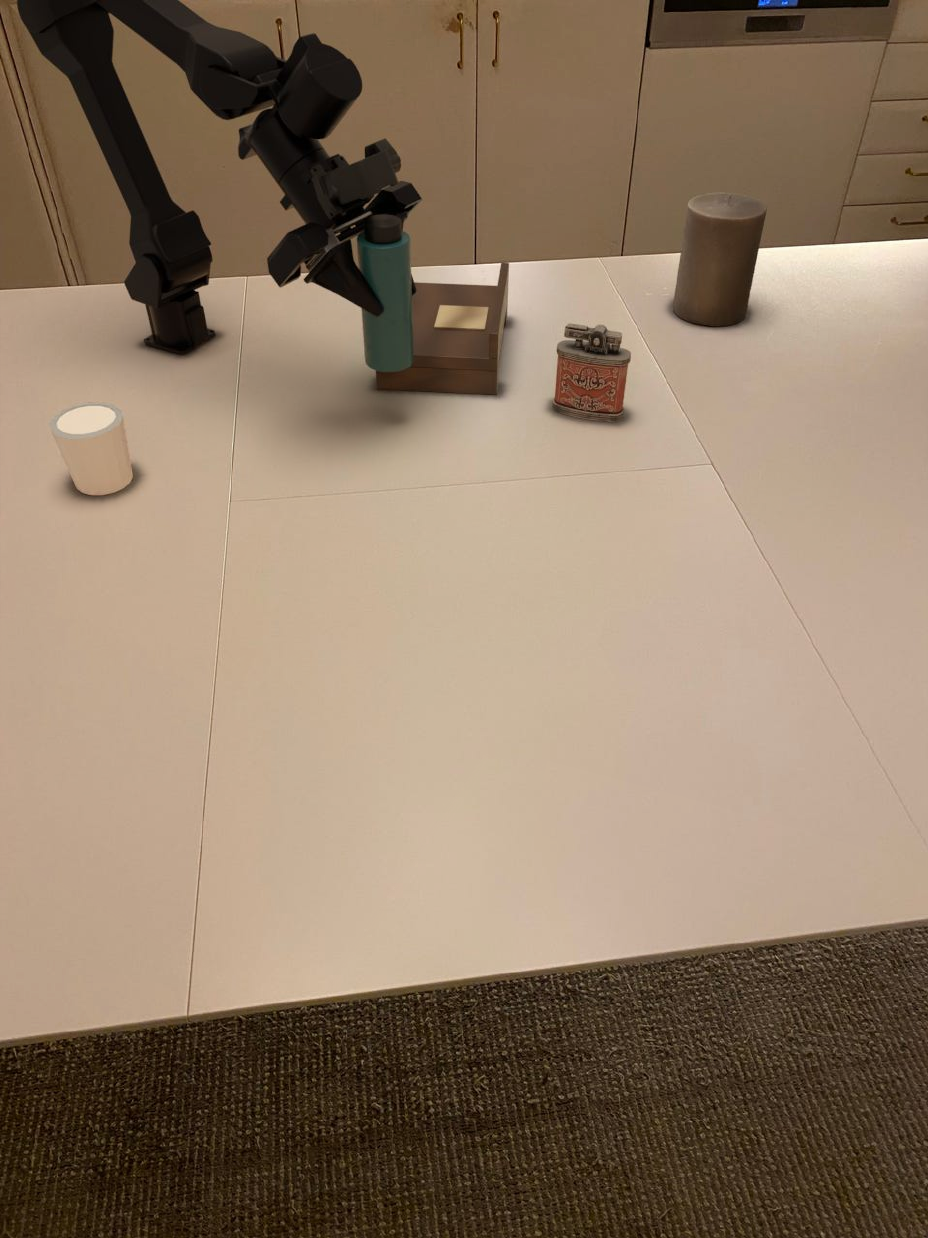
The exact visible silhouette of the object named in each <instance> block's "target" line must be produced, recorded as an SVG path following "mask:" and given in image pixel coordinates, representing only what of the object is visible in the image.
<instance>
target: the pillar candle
mask: <svg viewBox="0 0 928 1238" xmlns="http://www.w3.org/2000/svg"><path fill="white" fill-rule="evenodd" d="M767 209H768V208H767V205H766V203H765V202H763V201H761V200H760V199H758V198H756V197H754V196H751V195H747V194H741V193H735V192H724V191H720V192H709V193H705V194H699V195H696V196H694V197H692V198H691V199H689V201H688V203H687V209H686V210H687V211H686V215H685V222H684V223H685V224H684V228H683V237H682V240H681V241H682V242H681V249H680V256H679V261H678V269H677V275H676V282H675V288H674V296H673V302H672V310H673V313H674V314H675V315H676V316H677V317H679V318H681V319H682V320H684V321H687V322H689V323H692V324H697V325H703V326H709V327H724V326H727V327H728V326H731V325H734V324H737V323H739V322H741V321H743V320H744V319H745V318H746V314H747V310H748V307H749V306H748V305H749V301H750V298H751V297H750V295H751V290H752V286H753V281H754V276H755V275H754V274H755V270H756V265H757V260H758V255H759V250H760V245H761V241H762V235H763V231H764V225H765V221H766V215H767Z"/></svg>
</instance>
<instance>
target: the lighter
mask: <svg viewBox="0 0 928 1238" xmlns="http://www.w3.org/2000/svg"><path fill="white" fill-rule="evenodd" d="M563 334H564V335H563V337H564V338H566V339H568V340H566V339H564V340H561V341H559V342H558V343H557V345H556V354H557V364H556V375H555V376H556V377H555V389H554V397H553V399H552V410H553V411H554V412H556V413H558V414H563V415H566V416H570V417H574V418H579V419H583V420H592V421H597V422H610V423H616V422H619V421H621V420H622V419H623V418H624V411H625V408H624V400H625V392H626V385H627V376H628V368H629V364H630V363H631V359H632V352H631V351H630V350H628V349H627V348H625V347H621V344H622V339H623V333H622V332H621V331H615V330H608V328H607V327H606V326H605V324H597V325H595V327H590V326H589V325H584V324H578V323H572V322H571V323H570V322H569V323H567V324H565V326H564V332H563ZM571 339H572V340H571Z"/></svg>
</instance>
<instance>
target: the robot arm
mask: <svg viewBox="0 0 928 1238" xmlns="http://www.w3.org/2000/svg"><path fill="white" fill-rule="evenodd" d="M16 6H17V13H18V15H19V17H20V20H21V22H22V23H23V25H24V26H25V28H26V30H27V31H28V33H29V35H30V37H31V38H32V40H33V42H34V44H35V45H36V48H38V51H39V52H40V54H41V55H42V56H43V57H44V58H45V59H46V60H47V61H48V62H50V64H52V65H53V66H54V67H55V68H56V69H57V70H59V71H60V72H61V73H62V74H63V75H65V77H66V78H67V79H68V81H69V82H70V84H71V87H72V89H73V91H74V93H75V95H76V97H77V100H78V102H79V104H80V106H81V109H82V111H83V113H84V116H85V118H86V120H87V122H88V124H89V126H90V128H91V131H92V133H93V135H94V137H95V139H96V141H97V144H98V146H99V148H100V150H101V153H102V155H103V158H104V159H105V161H106V164H107V165H108V168H109V170H110V172H111V174H112V177H113V179H114V182H115V183H116V185H117V188H118V190H119V192H120V194H121V197H122V199H123V201H124V203H125V205H126V208H127V210H128V212H129V215H130V222H129V224H130V225H129V240H128V241H129V242H128V243H129V247H130V250H131V252H132V256H133V259H134V261H135V263H134V265H133V266H132V268H131V269H130V271H129V272H128V275H127V276H126V278H125V280H124V281H123V284H124V286H125V288H126V291H127V293H128V295H129V297H130V299H131V300H132V301H135V302H137V303H141V304H143V305H145V311H146V314H147V318H148V322H149V327H150V331H151V334H150V335H148V336H146V337H145V338H144V339H143V343H144V345H147V346H151V347H155V348H158V349H162V350H165V351H169V352H172V353H175V354H178V355H185V354H187V353H189V352H190V351H193V350H194V349H195V348H197V347H199V346H200V345H202V344H203V343H205V342H206V341H209V340H210V339H212V338H213V337H214V336H216V330H214V329H211V328H208V324H207V319H206V314H205V309H204V306H203V305H202V303H201V302H202V301H201V297H200V292H199V291H197V290H198V289H200V288H202V287H206V286H208V285H209V284H210V273H211V265H212V263H213V253H212V250H211V248H210V246H212V242H211V241H210V239H209V238H208V236H207V235H206V233H205V230H204V228H203V225H202V222H201V219H200V216H199V215H198V213H197V212H196V211H195V210H193V209H192V210H189V211H185V210H184V209H183V208H182V207H181V206H180V205H178V204H177V203H176V202H175V201H173V198H172V197H171V195H170V193H169V190H168V187H167V185H166V182H165V181H164V178H163V176H162V174H161V171H160V170H159V166H158V165H157V163H156V160H155V158H154V156H153V154H152V151H151V149H150V146H149V144H148V141H147V140H146V137H145V135H144V132H143V130H142V127H141V125H140V123H139V121H138V118H137V116H136V114H135V112H134V109H133V106H132V104H131V102H130V101H129V98H128V96H127V93H126V91H125V89H124V87H123V84H122V82H121V78H120V77H119V75H118V72H117V70H116V68H115V65H114V62H113V57H114V56H113V55H114V41H115V39H114V38H115V37H114V36H115V29H114V26H113V23H112V19H111V16H110V15H112V16H113V17H114V18H115V19H116V20H118V21H120V22H121V23H122V24H123V25H125V26H126V27H127V28H128V29H130V30H131V31H132V32H134V33H135V34H137V35H138V36H139V37H140V38H142V39H143V40H145V41H146V42H147V43H148V44H150V45H151V46H152V47H153V48H154V49H156V50H157V51H159V52H160V53H161V54H163V55H164V56H165V57H166V58H168V59H169V60H170V61H172V62H173V63H174V64H175V65H176V66H178V67H179V68H180V69H181V70H182V71H183V72H184V73H185V77H186V79H187V83H188V86H189V88H190V90H191V91H192V93H193V94H194V95H195V96H196V97H197V98H198V99H199V101H201V102H202V103H203V104H204V105H205V106H206V107H207V108H208V109H209V110H210V111H211V112H212V114H213V115H215V116H216V117H218V118H219V119H221V120H224V121H230V120H235V119H239V118H241V117H243V116H247V115H251V114H253V113H257V112H259V111H260V112H259V113H258V114H257V116H256V118H255V119H254V121H253V122H252V124H249V125H246V126H243V127H240V128H239V129H238V136H239V141H238V145H237V152H238V153H237V155H238V158H239V159H240V160H241V161H244V160H247V159H249V158H252V157H254V156H255V157H256V156H257V157H258V158H259V160H260V161H261V163H262V164H263V166H264V167H265V169H266V170H267V171H268V173H269V174H270V176H271V177H272V178H273V180H274V181H275V183H276V184H277V185H278V187H279V188H280V190H281V191H282V193H283V194H284V196H283V197H282V198H281V199H280V201H279V203H280V205H281V206H282V209H284V210H285V211H289V210H291V209H294V210H295V211H296V212H297V214H298V215H299V216H300V218H301V220H302V221H303V222H304V224H303V225H301V226H299V227H296V228H294V229H293V230H290V231H288V232H287V233H285V235H284V236H283V237H282V239H281V240H280V241H279V243H278V244H277V245H276V246H275V248H274V249H273V250H272V251H271V253H270V254H269V255H268V257H266V263H267V270H268V274H269V275H270V277H271V278H272V279H273V281H274V282H275V283H276V285H277V286H278V287H279V288H280V289H281V288H283V287H285V286H287V285H289V284H291V283H293V282H295V281H296V280H299V278H300V277H301V275H302V266H301V265H302V264H305V268H306V270H307V271H308V274H306V276H305V277H304V278H303V282H304V283H305V284H307V285H308V284H310V283H312V284H315V285H316V286H319V287H321V288H323V289H325V290H326V291H327V290H328V291H329V292H331V293H334V294H336V295H338V296H340V297H341V298H343V299H345V300H346V301H349V302H350V303H351V304H354V305H355V306H357V307H359V308H360V309H361V308H362V309H364V310H366V311H367V312H369V313H371V314H372V315H374V316H376V317H378V316H380V315H381V314H382V313H383V312H384V309H383V307H382V305H381V303H380V301H379V299H378V298H377V296H376V294H375V293H374V291H373V290H372V288H371V287H370V285H369V284H368V282H367V281H366V279H365V277H364V276H363V274H362V273H361V271H360V270H359V266H358V265H357V264H356V262H355V258H354V253H353V245H352V240H353V239H354V238H357V237H358V235H359V234H361V233H362V232H365V231H364V220H365V219H366V218H368V217H370V216H374V215H383V214H384V215H393V216H396V217H398V218H400V219H401V226H402V231H404V225H405V224H404V223H405V222H406V221H407V220H408V218H409V214H410V213H411V212H412V211H413V210H414V209H415V208H416V207H417V206H418V205H419V204H420V203H421V202H422V201H423V198H422V197H421V195H420V193H419V192H418V190H417V189H416V187H415V186H414V185H413V183H412V182H409V181H404V180H400V181H399V180H398V177H397V174H396V173H399V172H400V171H401V168H402V159H401V156H399V154H398V152H397V150H396V149H395V148H394V146H392V144H391V143H390V142H389V141H388V139H387V138H386V137H384V138H382V139H380V140H377V141H375V142H372V143H370V144H367V145H366V146H364V158H362V159H360V160H357V161H355V162H353V163H348V161H347V159H346V157H344V155H340V153H337V154H334V155H331V156H330V155H329V154H328V152H327V150H326V149H325V148H324V146H323V145H322V142H320V140H325V139H327V138H328V137H329V136H331V135H332V133H333V132H334V130H335V129H336V128H337V126H338V125H339V124H340V123H341V121H342V120H343V118H344V117H345V116H346V115H347V113H348V111H350V109H351V108H352V106H354V104H355V103H356V101H358V99H359V97H360V95H361V93H362V92H363V79H362V77H361V73H360V71H359V69H358V67H357V65H356V64H355V63H354V61H353V60H352V59H351V58H348V57H347V56H346V55H345V54H344V53H342V52H341V51H340V50H339V49H338V48H336V47H333V46H332V45H329V44H327V43H322V41H321V39H320V38H319V36H318V35H317V34H316V33H315V32H312V33H308V34H304V35H300V36H299V37H298V38H297V39H296V42H295V43H294V45H293V47H292V50H291V53H290V55H289V57H288V58H287V60H286V59H284V58H282V57H279V56H277V55H276V54H275V52H274V51H273V49H272V48H270V47H269V46H268V45H267V44H265V43H264V42H262V41H261V40H260V41H259V40H258V39H256V38H254V37H252V36H250V35H247V34H245V33H244V32H242V31H237V30H233V29H229V28H225V27H220V26H216V25H214V24H212V23H210V22H208V21H207V20H206V19H204V18H203V17H201V16H200V15H199V14H197V13H196V12H195V11H194V10H192V9H191V8H190V7H188V6H187V5H186V4H184V3H183V2H182V1H180V0H16ZM367 204H368V205H367ZM365 206H366V207H365ZM364 207H365V208H364ZM411 281H412V296H413V295H414V294H415V293H416V287H415V284H414V282H415V280H414V277H413V274H412V272H411ZM362 309H361V310H362Z"/></svg>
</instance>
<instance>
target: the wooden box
mask: <svg viewBox="0 0 928 1238" xmlns="http://www.w3.org/2000/svg"><path fill="white" fill-rule="evenodd" d="M509 277H510V262H500V268H499V273H498V279H497V285H488V284H463V283H441V282H417V281H416V282H415V281H414V284H415V287H416V293H415V294H414V295H413V296H412V314H413V346H414V362H413V364H412V365H411V366H410V367H408V368H406V369H404V370H401V371H396V372H381V371H376V370H375V383H376V389H377V390H391V391H393V390H394V391H411V392H412V391H414V392H432V393H434V392H436V393H451V394H452V393H455V394H472V395H473V394H475V395H476V394H477V395H492V396H493V395H495V396H496V395H497V394H498V388H499V361H500V355H501V348H502V342H503V334H504V328H505V327H507V324H508V323H507V322H508V307H509V281H510V280H509Z"/></svg>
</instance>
